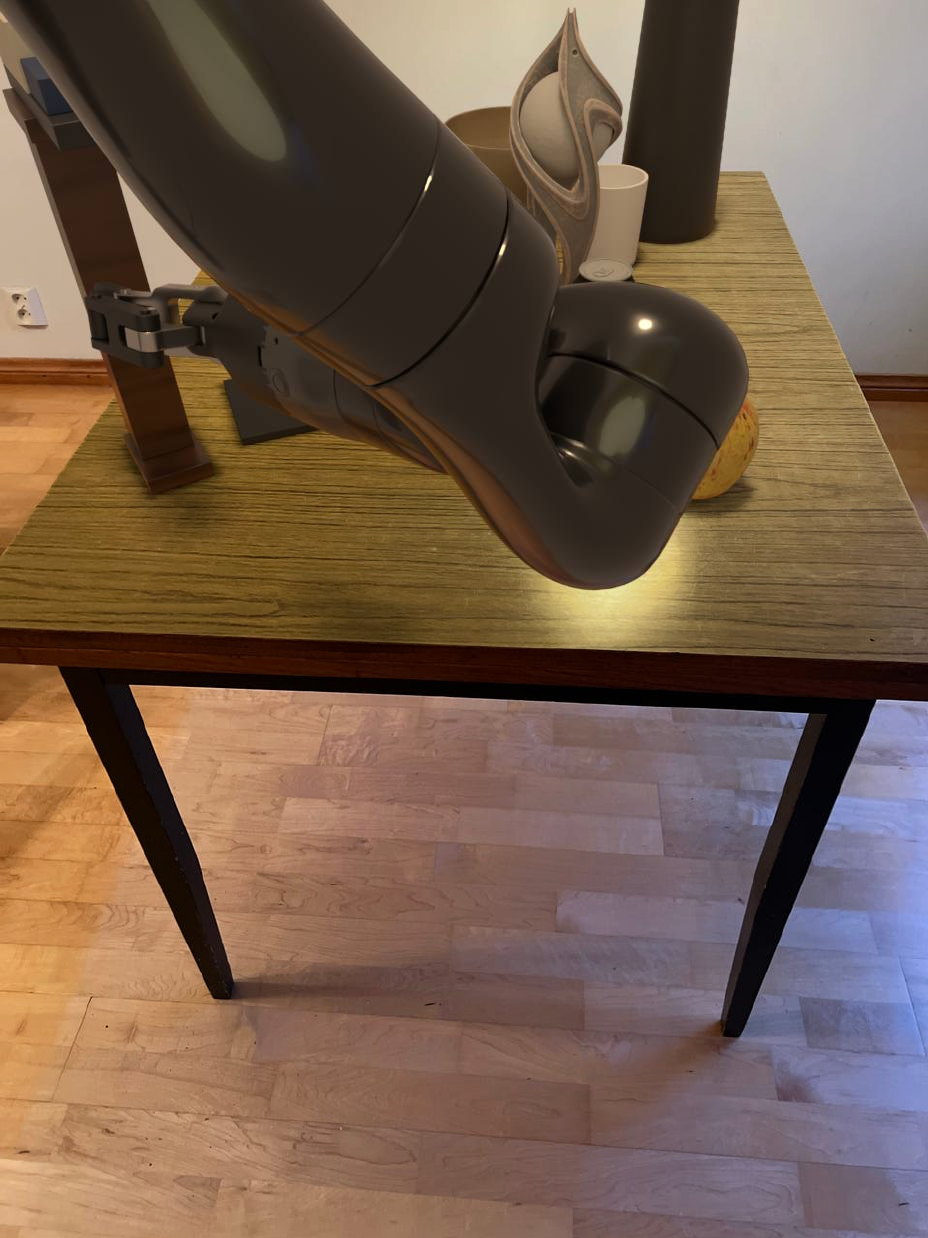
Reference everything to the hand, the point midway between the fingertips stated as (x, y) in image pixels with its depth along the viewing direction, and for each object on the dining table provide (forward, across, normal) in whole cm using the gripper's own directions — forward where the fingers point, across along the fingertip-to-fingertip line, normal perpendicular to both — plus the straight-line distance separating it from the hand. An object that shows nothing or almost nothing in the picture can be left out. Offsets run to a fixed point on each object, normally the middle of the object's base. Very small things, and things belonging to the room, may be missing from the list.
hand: (173, 295), depth 52 cm
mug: (+26, -74, +6) cm, 78 cm away
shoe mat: (+26, -26, +17) cm, 40 cm away
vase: (+27, -87, +2) cm, 91 cm away
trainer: (+18, -3, -9) cm, 21 cm away
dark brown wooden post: (+26, -11, +20) cm, 35 cm away
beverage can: (+7, -50, +14) cm, 52 cm away
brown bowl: (+44, -74, +3) cm, 86 cm away
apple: (-11, -42, +18) cm, 47 cm away
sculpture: (+21, -59, +10) cm, 63 cm away
